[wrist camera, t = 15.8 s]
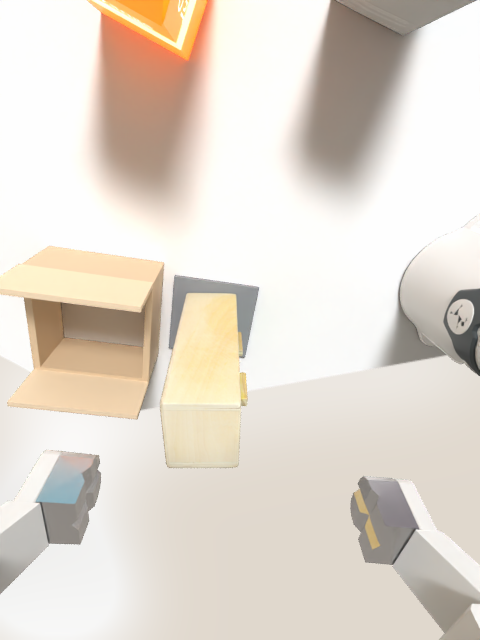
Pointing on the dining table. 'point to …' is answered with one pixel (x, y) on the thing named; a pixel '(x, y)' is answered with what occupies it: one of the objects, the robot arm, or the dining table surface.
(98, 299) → the carton
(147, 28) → the orange juice
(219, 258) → the dining table surface
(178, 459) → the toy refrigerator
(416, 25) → the skincare box
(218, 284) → the mat
